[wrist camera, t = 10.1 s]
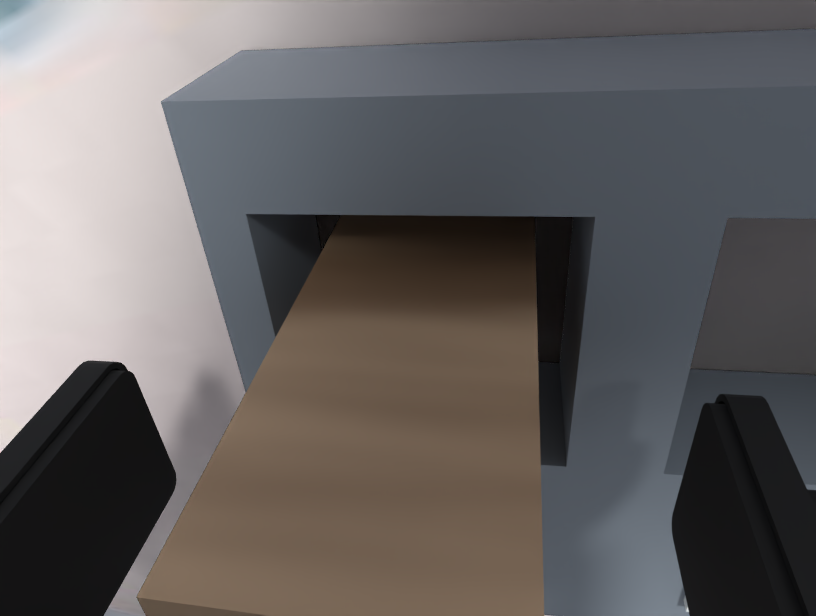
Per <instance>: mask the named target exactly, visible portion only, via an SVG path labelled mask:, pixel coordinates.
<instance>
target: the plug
mask: <svg viewBox="0 0 816 616" xmlns="http://www.w3.org/2000/svg"><path fill="white" fill-rule="evenodd" d="M137 599H138V601H139V603H140V605H141V607H142V609H143V611H144V613H145V615H146V616H544V583H543V541H542V499H541V457H540V415H539V374H538V332H537V290H536V248H535V216H424V215H341V216H340V218H339V220H338V222H337V224H336V226H335V227H334V229H333V231H332V233H331V235H330V237H329V239H328V241H327V242H326V244H325V246H324V248H323V250H322V252H321V254H320V255H319V257H318V259H317V261H316V263H315V265H314V267H313V268H312V270H311V272H310V274H309V276H308V278H307V280H306V282H305V283H304V285H303V287H302V289H301V291H300V293H299V295H298V296H297V298H296V300H295V302H294V304H293V306H292V308H291V310H290V311H289V313H288V315H287V317H286V319H285V321H284V323H283V324H282V326H281V328H280V330H279V332H278V334H277V336H276V338H275V339H274V341H273V343H272V345H271V347H270V349H269V351H268V352H267V354H266V356H265V358H264V360H263V362H262V364H261V366H260V367H259V369H258V371H257V373H256V375H255V377H254V379H253V380H252V382H251V384H250V386H249V388H248V390H247V392H246V394H245V395H244V397H243V399H242V401H241V403H240V405H239V407H238V408H237V410H236V412H235V414H234V416H233V418H232V420H231V422H230V423H229V425H228V427H227V429H226V431H225V433H224V435H223V436H222V438H221V440H220V442H219V444H218V446H217V448H216V450H215V451H214V453H213V455H212V457H211V459H210V461H209V463H208V464H207V466H206V468H205V470H204V472H203V474H202V476H201V478H200V479H199V481H198V483H197V485H196V487H195V489H194V491H193V492H192V494H191V496H190V498H189V500H188V502H187V504H186V506H185V507H184V509H183V511H182V513H181V515H180V517H179V519H178V520H177V522H176V524H175V526H174V528H173V530H172V532H171V534H170V535H169V537H168V539H167V541H166V543H165V545H164V547H163V548H162V550H161V552H160V554H159V556H158V558H157V560H156V561H155V563H154V565H153V567H152V569H151V571H150V573H149V575H148V576H147V578H146V580H145V582H144V584H143V586H142V588H141V589H140V591H139V593H138V595H137Z"/></svg>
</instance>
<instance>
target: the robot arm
mask: <svg viewBox="0 0 816 616" xmlns="http://www.w3.org/2000/svg"><path fill="white" fill-rule="evenodd" d="M175 485H176V473H175V470H174V468H173V465H172V463H171V461H170V458H169V456H168V454H167V451H166V449H165V446H164V444H163V442H162V439H161V437H160V435H159V432H158V430H157V427H156V425H155V423H154V420H153V418H152V416H151V413H150V411H149V409H148V406H147V404H146V401H145V399H144V397H143V394H142V392H141V390H140V387H139V385H138V382H137V380H136V378H135V376H134V374H133V373H132V372H130V371H128V370H127V368H126V367H125V365H123V364H122V363H119V362H106V361H86V362H83V363H82V364H81V365H80V366H78V368H77V369H76V370H75V371H74V372H73V373H72V374H71V375H70V376H69V378H68V379H67V380H66V381H65V382H64V383H63V384H62V385H61V386H60V388H59V389H58V390H57V391H56V392H55V393H54V394H53V395H52V396H51V397H50V399H49V400H48V401H47V402H46V403H45V404H44V405H43V406H42V407H41V409H40V410H39V411H38V412H37V413H36V414H35V415H34V416H33V417H32V419H31V420H30V421H29V422H28V423H27V424H26V425H25V426H24V427H23V429H22V430H21V431H20V432H19V433H18V434H17V435H16V436H15V437H14V439H13V440H12V441H11V442H10V443H9V444H8V445H7V446H6V447H5V449H4V450H3V451H2V452H1V453H0V616H104V614H105V612H106V610H107V609H108V607H109V605H110V603H111V602H112V600H113V598H114V596H115V595H116V593H117V591H118V589H119V587H120V586H121V584H122V582H123V580H124V579H125V577H126V575H127V573H128V572H129V570H130V568H131V566H132V565H133V563H134V561H135V559H136V557H137V556H138V554H139V552H140V550H141V549H142V547H143V545H144V543H145V542H146V540H147V538H148V536H149V535H150V533H151V531H152V529H153V527H154V526H155V524H156V522H157V520H158V519H159V517H160V515H161V513H162V512H163V510H164V508H165V506H166V505H167V503H168V501H169V499H170V497H171V496H172V494H173V492H174V489H175ZM672 536H673V541H674V546H675V551H676V555H677V560H678V564H679V569H680V574H681V578H682V583H683V587H684V592H685V596H686V601H687V606H688V610H689V615H690V616H816V490H808V489H807V488H806V486H805V484H804V482H803V479H802V477H801V475H800V473H799V470H798V468H797V466H796V464H795V462H794V459H793V457H792V455H791V453H790V451H789V448H788V446H787V444H786V442H785V439H784V437H783V435H782V433H781V431H780V428H779V426H778V424H777V422H776V420H775V417H774V415H773V413H772V411H771V409H770V406H769V404H768V402H767V401H766V399H765V398H764V397H762V396H754V395H735V394H719V396H718V397H717V398H716V401H715V403H705V404H704V405H703V407H702V410H701V413H700V417H699V420H698V424H697V428H696V431H695V435H694V438H693V442H692V446H691V449H690V453H689V456H688V460H687V464H686V467H685V471H684V474H683V478H682V482H681V485H680V489H679V492H678V496H677V500H676V503H675V507H674V510H673V514H672Z"/></svg>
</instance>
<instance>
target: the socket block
mask: <svg viewBox="0 0 816 616" xmlns="http://www.w3.org/2000/svg"><path fill="white" fill-rule="evenodd" d="M161 104H162V107H163V110H164V114H165V117H166V121H167V124H168V128H169V131H170V134H171V138H172V141H173V145H174V148H175V151H176V155H177V158H178V162H179V165H180V169H181V172H182V175H183V179H184V182H185V186H186V189H187V192H188V196H189V199H190V203H191V206H192V210H193V213H194V216H195V220H196V223H197V227H198V230H199V233H200V237H201V240H202V244H203V247H204V251H205V254H206V257H207V261H208V264H209V268H210V271H211V275H212V278H213V281H214V285H215V288H216V292H217V295H218V298H219V302H220V305H221V309H222V312H223V316H224V319H225V322H226V326H227V329H228V333H229V336H230V339H231V343H232V346H233V350H234V353H235V357H236V360H237V363H238V367H239V370H240V374H241V377H242V380H243V384H244V387H245V391H246V392H247V390H248V388H249V386H250V384H251V382H252V380H253V379H254V377H255V375H256V373H257V371H258V369H259V367H260V366H261V364H262V362H263V360H264V358H265V356H266V354H267V352H268V351H269V349H270V347H271V345H272V343H273V341H274V339H275V338H276V336H277V334H278V332H279V330H280V328H281V326H282V324H283V323H284V321H285V319H286V317H287V315H288V313H289V311H290V310H291V308H292V306H293V304H294V302H295V300H296V298H297V296H298V295H299V293H300V291H301V289H302V287H303V285H304V283H305V282H306V280H307V278H308V276H309V274H310V272H311V270H312V268H313V267H314V265H315V263H316V261H317V259H318V257H319V255H320V254H321V246H320V240H319V234H318V228H317V222H316V216H315V215H424V216H543V217H573V224H572V235H571V245H570V256H569V267H568V278H567V288H566V299H565V310H564V321H563V332H562V342H561V353H560V363H550V362H538V374H539V415H540V457H541V499H542V541H543V583H544V615H551V616H690V615H689V610H688V606H687V601H686V596H685V592H684V587H683V583H682V578H681V574H680V569H679V564H678V560H677V555H676V551H675V546H674V541H673V536H672V514H673V510H674V507H675V503H676V500H677V496H678V492H679V489H680V485H681V482H682V478H683V474H684V471H685V467H686V464H687V460H688V456H689V453H690V449H691V446H692V442H693V438H694V435H695V431H696V428H697V424H698V420H699V417H700V413H701V410H702V407H703V405H704V404H705V403H715V401H716V398H717V397H718V396H719V394H735V395H754V396H762V397H764V398H765V399H766V401H767V402H768V404H769V406H770V409H771V411H772V413H773V415H774V417H775V420H776V422H777V424H778V426H779V428H780V431H781V433H782V435H783V437H784V439H785V442H786V444H787V446H788V448H789V451H790V453H791V455H792V457H793V459H794V462H795V464H796V466H797V468H798V470H799V473H800V475H801V477H802V479H803V482H804V484H805V486H806V488H807V489H808V490H816V375H807V374H786V373H764V372H743V371H722V370H700V369H690V367H691V363H692V359H693V355H694V351H695V347H696V343H697V339H698V335H699V331H700V327H701V323H702V319H703V315H704V311H705V307H706V303H707V299H708V295H709V291H710V287H711V283H712V279H713V275H714V271H715V267H716V263H717V259H718V255H719V251H720V247H721V243H722V239H723V235H724V231H725V227H726V223H727V219H728V218H780V219H816V29H796V30H770V31H744V32H717V33H691V34H665V35H639V36H612V37H586V38H560V39H534V40H507V41H481V42H455V43H429V44H402V45H376V46H350V47H324V48H297V49H271V50H245V51H240V52H238V53H237V54H235V55H234V56H232V57H230V58H229V59H227V60H226V61H224V62H223V63H221V64H219V65H218V66H216V67H215V68H213V69H212V70H210V71H208V72H207V73H205V74H204V75H202V76H201V77H199V78H197V79H196V80H194V81H193V82H191V83H190V84H188V85H186V86H185V87H183V88H182V89H180V90H179V91H177V92H175V93H174V94H172V95H171V96H169V97H168V98H166V99H164V100H163V101H161Z"/></svg>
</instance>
